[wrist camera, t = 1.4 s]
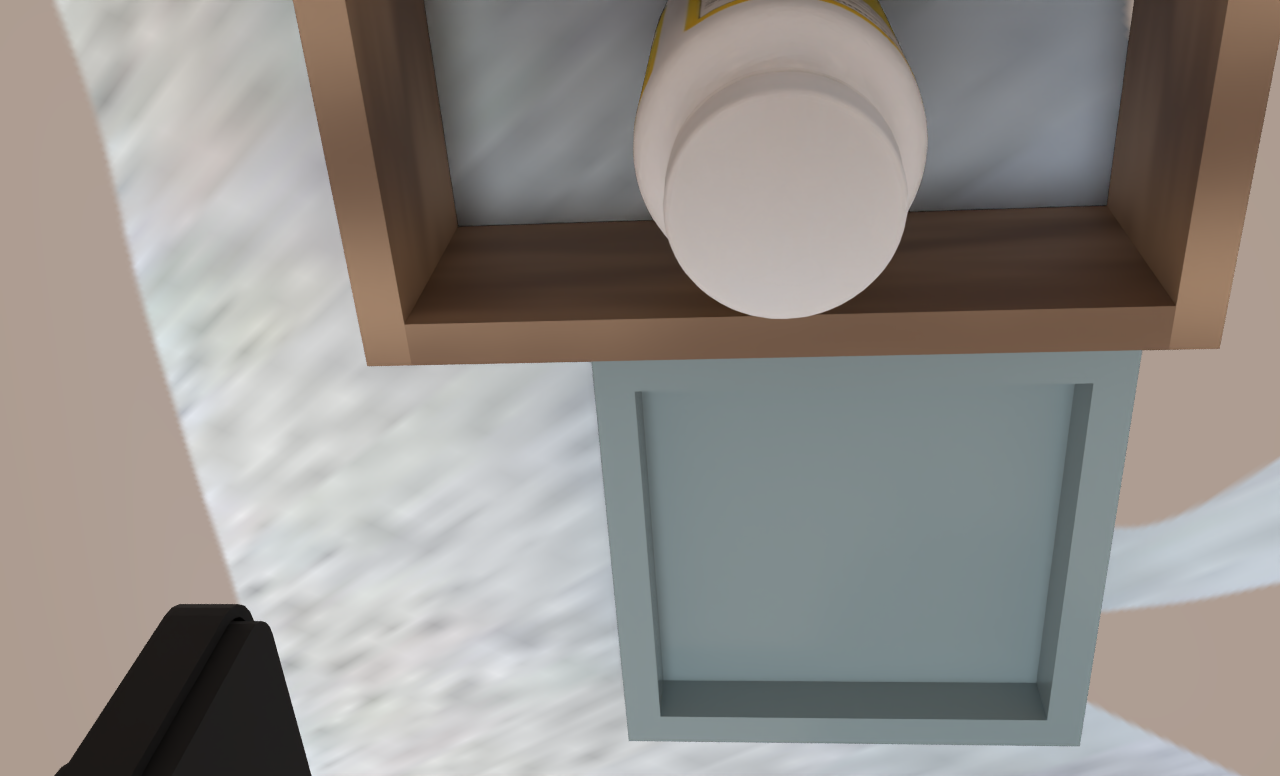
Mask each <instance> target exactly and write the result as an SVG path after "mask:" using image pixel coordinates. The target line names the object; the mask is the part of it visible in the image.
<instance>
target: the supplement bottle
mask: <svg viewBox="0 0 1280 776" xmlns="http://www.w3.org/2000/svg"><path fill="white" fill-rule="evenodd" d="M927 140H928V135H927V121H926V116H925V110H924V106H923V102H922V98H921V94H920V91H919V88H918V85H917V83H916V80H915V77H914V75H913V73H912V71H911V69H910V66H909V64H908V62H907V60H906V58H905V56H904V54H903V52H902V49H901V47H900V45H899V43H898V41H897V39H896V37H895V35H894V32H893V30H892V28H891V26H890V24H889V22H888V20H887V18H886V15H885V13H884V11H883V10H882V8H881V6H880V4H879V2H878V0H668V2H667V4H666V6H665V8H664V10H663V12H662V14H661V16H660V19H659V22H658V25H657V28H656V31H655V35H654V39H653V43H652V47H651V52H650V56H649V61H648V65H647V70H646V74H645V78H644V83H643V87H642V91H641V96H640V100H639V104H638V109H637V114H636V119H635V124H634V139H633V157H634V166H635V172H636V178H637V181H638V185H639V189H640V192H641V195H642V197H643V200H644V202H645V204H646V206H647V209H648V211H649V213H650V214H651V216H652V218H653V219H654V221H655V222H656V224H657V225H658V227H659V228H660V229H661V231H662V232H663V234H664V235H665V236H666V237H667V238H668V240H669V243H670V246H671V248H672V251H673V253H674V255H675V257H676V259H677V261H678V262H679V264H680V266H681V267H682V269H683V270H684V272H685V273H686V274H687V275H688V276H689V278H690V279H691V280H692V281H693V282H694V283H695V284H696V285H697V286H698V287H699V288H700V289H701V290H702V291H704V292H705V293H706V294H707V295H709V296H710V297H712V298H713V299H715V300H716V301H718V302H719V303H721V304H723V305H725V306H727V307H729V308H731V309H733V310H736V311H739V312H742V313H745V314H748V315H752V316H757V317H763V318H770V319H790V318H800V317H808V316H811V315H815V314H819V313H822V312H825V311H828V310H830V309H833V308H835V307H837V306H839V305H841V304H843V303H845V302H847V301H848V300H850V299H852V298H854V297H855V296H856V295H858V294H859V293H860V292H862V291H863V290H865V289H866V288H867V287H868V286H869V285H870V284H871V283H872V282H873V281H874V280H875V279H876V278H877V277H878V276H879V275H880V274H881V273H882V271H883V270H884V269H885V268H886V266H887V265H888V263H889V262H890V260H891V259H892V257H893V255H894V253H895V252H896V250H897V247H898V245H899V243H900V240H901V237H902V234H903V232H904V228H905V223H906V218H907V214H908V210H909V208H910V207H911V205H912V203H913V201H914V199H915V196H916V194H917V191H918V189H919V186H920V183H921V180H922V177H923V173H924V168H925V164H926V156H927Z"/></svg>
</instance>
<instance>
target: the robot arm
mask: <svg viewBox="0 0 1280 776" xmlns="http://www.w3.org/2000/svg"><path fill="white" fill-rule="evenodd" d="M55 776H311V772H310V769H309V765H308V761H307V758H306V754H305V750H304V747H303V743H302V739H301V736H300V732H299V729H298V725H297V721H296V718H295V714H294V710H293V707H292V703H291V699H290V696H289V692H288V688H287V685H286V681H285V677H284V674H283V670H282V666H281V663H280V659H279V656H278V652H277V648H276V645H275V641H274V637H273V634H272V631H271V629H270V627H269V625H268V624H267V623H266V622H262V621H254V620H253V618H252V615H251V613H250V611H249V610H248V609H247V608H246V607H245V606H243V605H239V604H179V605H177V606H174V607H172V608H171V609H170V610H169V612H168V613H167V614H166V615H165V616H164V618H163V619H162V621H161V622H160V624H159V626H158V627H157V628H156V630H155V631H154V633H153V635H152V636H151V638H150V639H149V641H148V642H147V644H146V645H145V647H144V648H143V650H142V651H141V653H140V654H139V656H138V657H137V659H136V661H135V662H134V664H133V665H132V667H131V668H130V670H129V671H128V673H127V674H126V676H125V677H124V679H123V680H122V682H121V683H120V685H119V687H118V688H117V690H116V691H115V693H114V694H113V696H112V697H111V699H110V700H109V702H108V703H107V705H106V706H105V708H104V709H103V711H102V712H101V714H100V716H99V717H98V719H97V720H96V722H95V724H94V725H93V726H92V728H91V729H90V731H89V732H88V734H87V736H86V737H85V739H84V740H83V742H82V743H81V745H80V746H79V748H78V749H77V751H76V752H75V754H74V755H73V757H72V758H71V760H70V761H69V763H67V764H66V765H64V766H63V767H61V768H60V770H59V771H58V772H57V773H56V774H55Z"/></svg>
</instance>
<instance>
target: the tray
mask: <svg viewBox="0 0 1280 776" xmlns="http://www.w3.org/2000/svg"><path fill="white" fill-rule="evenodd" d="M1141 355H1142V350H1129V351H1081V352H1032V353H983V354H935V355H886V356H837V357H789V358H740V359H691V360H643V361H594V362H592V371H593V381H594V392H595V402H596V412H597V422H598V432H599V442H600V453H601V463H602V473H603V483H604V493H605V503H606V513H607V524H608V534H609V544H610V554H611V564H612V574H613V584H614V595H615V605H616V615H617V625H618V635H619V645H620V655H621V666H622V676H623V686H624V696H625V706H626V716H627V726H628V737H629V741H679V742H763V743H847V744H931V745H1016V746H1080V740H1081V734H1082V728H1083V721H1084V715H1085V709H1086V702H1087V696H1088V690H1089V683H1090V676H1091V670H1092V664H1093V658H1094V652H1095V645H1096V639H1097V633H1098V626H1099V620H1100V614H1101V607H1102V601H1103V595H1104V589H1105V582H1106V576H1107V570H1108V563H1109V557H1110V551H1111V544H1112V538H1113V532H1114V525H1115V519H1116V513H1117V506H1118V500H1119V494H1120V487H1121V481H1122V475H1123V468H1124V462H1125V456H1126V450H1127V443H1128V437H1129V431H1130V424H1131V418H1132V412H1133V405H1134V399H1135V393H1136V386H1137V379H1138V373H1139V367H1140V360H1141Z"/></svg>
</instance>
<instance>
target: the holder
mask: <svg viewBox="0 0 1280 776" xmlns="http://www.w3.org/2000/svg"><path fill="white" fill-rule="evenodd" d="M293 3H294V8H295V13H296V18H297V23H298V28H299V33H300V38H301V43H302V48H303V52H304V57H305V62H306V67H307V72H308V77H309V82H310V87H311V92H312V97H313V102H314V106H315V111H316V116H317V121H318V126H319V131H320V136H321V141H322V146H323V151H324V155H325V160H326V165H327V170H328V175H329V180H330V185H331V190H332V195H333V200H334V205H335V209H336V214H337V219H338V224H339V229H340V234H341V239H342V244H343V249H344V254H345V258H346V263H347V268H348V273H349V278H350V283H351V288H352V293H353V298H354V303H355V308H356V312H357V317H358V322H359V327H360V332H361V337H362V342H363V347H364V352H365V357H366V362H367V366H399V365H448V364H497V363H545V362H594V361H643V360H691V359H740V358H789V357H837V356H886V355H935V354H983V353H1032V352H1081V351H1129V350H1176V349H1177V350H1178V349H1219V348H1220V344H1221V338H1222V333H1223V328H1224V323H1225V318H1226V313H1227V307H1228V302H1229V297H1230V292H1231V287H1232V282H1233V277H1234V271H1235V266H1236V261H1237V256H1238V251H1239V246H1240V240H1241V235H1242V230H1243V225H1244V220H1245V214H1246V210H1247V204H1248V199H1249V194H1250V189H1251V184H1252V179H1253V173H1254V168H1255V163H1256V158H1257V153H1258V148H1259V143H1260V137H1261V132H1262V127H1263V122H1264V117H1265V111H1266V107H1267V101H1268V96H1269V91H1270V86H1271V81H1272V75H1273V70H1274V65H1275V60H1276V55H1277V50H1278V44H1279V39H1280V0H1134V6H1133V13H1132V21H1131V28H1130V36H1129V43H1128V51H1127V58H1126V66H1125V73H1124V81H1123V88H1122V96H1121V103H1120V111H1119V119H1118V126H1117V134H1116V141H1115V149H1114V156H1113V164H1112V171H1111V179H1110V186H1109V194H1108V201H1107V206H1083V207H1052V208H1022V209H991V210H960V211H929V212H908V214H907V218H906V223H905V228H904V232H903V234H902V237H901V240H900V243H899V245H898V247H897V250H896V252H895V253H894V255H893V257H892V259H891V260H890V262H889V263H888V265H887V266H886V268H885V269H884V270H883V271H882V273H881V274H880V275H879V276H878V277H877V278H876V279H875V280H874V281H873V282H872V283H871V284H870V285H869V286H868V287H867V288H866V289H865V290H863V291H862V292H860V293H859V294H858V295H856V296H855V297H854V298H852V299H850V300H848V301H847V302H845V303H843V304H841V305H839V306H837V307H835V308H833V309H830V310H828V311H825V312H822V313H819V314H815V315H811V316H808V317H800V318H790V319H770V318H763V317H757V316H752V315H748V314H745V313H742V312H739V311H736V310H733V309H731V308H729V307H727V306H725V305H723V304H721V303H719V302H718V301H716V300H715V299H713V298H712V297H710V296H709V295H707V294H706V293H705V292H704V291H702V290H701V289H700V288H699V287H698V286H697V285H696V284H695V283H694V282H693V281H692V280H691V279H690V278H689V276H688V275H687V274H686V273H685V272H684V270H683V269H682V267H681V266H680V264H679V262H678V261H677V259H676V257H675V255H674V253H673V251H672V248H671V246H670V243H669V240H668V238H667V237H666V236H665V235H664V234H663V232H662V231H661V229H660V228H659V227H658V225H657V224H656V222H655V221H654V220H652V221H621V222H590V223H559V224H529V225H498V226H467V227H458V225H457V218H456V211H455V205H454V198H453V192H452V185H451V178H450V172H449V165H448V159H447V152H446V145H445V139H444V132H443V126H442V119H441V112H440V106H439V99H438V93H437V86H436V79H435V73H434V66H433V60H432V53H431V46H430V40H429V33H428V27H427V20H426V13H425V7H424V0H293Z"/></svg>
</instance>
